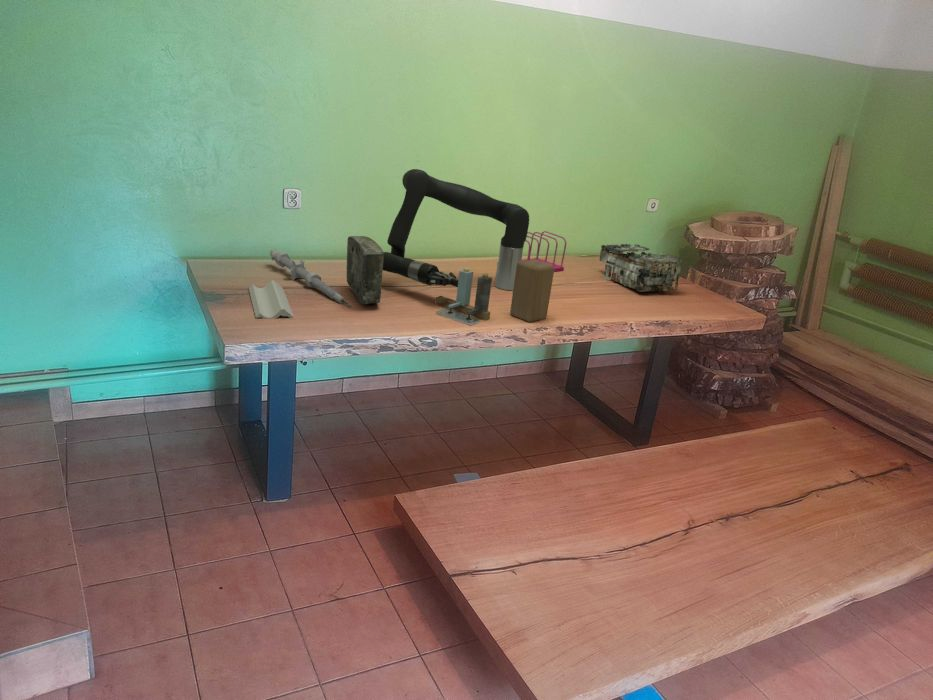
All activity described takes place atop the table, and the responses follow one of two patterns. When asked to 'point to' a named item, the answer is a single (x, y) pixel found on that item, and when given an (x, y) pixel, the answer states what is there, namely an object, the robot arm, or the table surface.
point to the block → (532, 290)
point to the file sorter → (556, 267)
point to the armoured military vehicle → (640, 268)
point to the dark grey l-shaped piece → (480, 300)
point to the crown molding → (270, 301)
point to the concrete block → (365, 268)
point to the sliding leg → (463, 288)
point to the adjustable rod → (305, 275)
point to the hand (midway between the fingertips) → (460, 284)
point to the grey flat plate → (458, 316)
